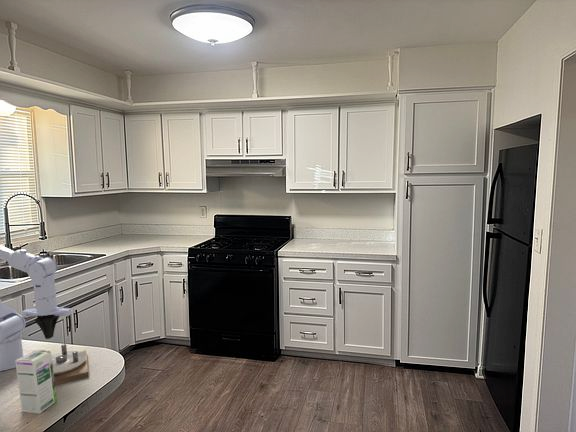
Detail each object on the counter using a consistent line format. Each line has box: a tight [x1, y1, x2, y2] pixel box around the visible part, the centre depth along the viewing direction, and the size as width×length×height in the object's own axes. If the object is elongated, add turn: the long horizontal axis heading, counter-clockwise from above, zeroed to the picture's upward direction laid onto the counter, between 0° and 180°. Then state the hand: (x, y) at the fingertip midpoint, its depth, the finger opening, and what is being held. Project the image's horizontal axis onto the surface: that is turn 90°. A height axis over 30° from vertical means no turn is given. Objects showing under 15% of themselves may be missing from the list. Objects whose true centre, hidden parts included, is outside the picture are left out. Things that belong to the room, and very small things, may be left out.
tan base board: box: [54, 349, 89, 386], centre depth 121 cm, size 17×14×2 cm
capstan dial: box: [51, 343, 85, 376], centre depth 121 cm, size 13×13×4 cm
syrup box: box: [15, 349, 58, 415], centre depth 101 cm, size 6×6×14 cm
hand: (49, 337), depth 124 cm, fingers closed
